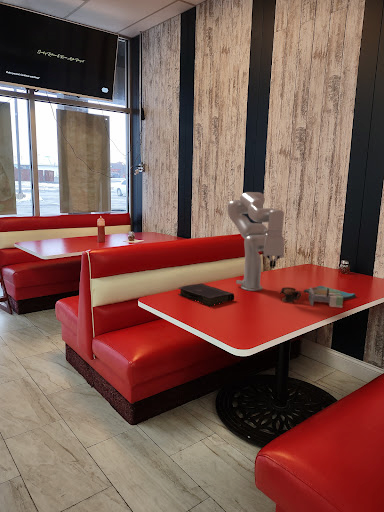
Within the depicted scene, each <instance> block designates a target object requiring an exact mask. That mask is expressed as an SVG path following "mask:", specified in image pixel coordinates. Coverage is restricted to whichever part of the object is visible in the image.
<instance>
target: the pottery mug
mask: <svg viewBox="0 0 384 512" xmlns="http://www.w3.org/2000/svg"><path fill="white" fill-rule="evenodd" d="M296 290H297V289H296V288H294V287H291V286H290V287H288V286H287V287H282V288H281V290H280V293H279V294H280V295H281V294H282V295H284V297H282V298H281V299H282V300H281V301H282V302H283V303H292V304H293V303H294V302H296V301H298V300H299V299H301V297H302V292H300V291H299V290H297V291H296Z"/></svg>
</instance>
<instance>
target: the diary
mask: <svg viewBox="0 0 384 512" xmlns="http://www.w3.org/2000/svg"><path fill="white" fill-rule="evenodd" d="M178 289H179V290H180V293H178V294H177V295H178V296H180V297H182V296H183V297H182V298H186V299H188V300H190V299H191V301H193V302H195V300H196V301H199V302H201V303H200V304H202V303H203V304H202V305H204V304H205V305H204V306H206V305H207V307H210V306H211V307H214V306H217V305H216V304H218V305H222V304H224V303H226V301H227V302H231V301H232V300H233V301H234V300H235V294H234V292H229V291H226V290H224V289H220V288H217V287H215V286H210V285H208V284H205V283H195V284H188V285H183V286H178ZM199 302H198V303H199ZM219 303H220V304H219ZM221 303H222V304H221ZM214 304H215V305H214ZM211 307H210V308H211Z"/></svg>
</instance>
